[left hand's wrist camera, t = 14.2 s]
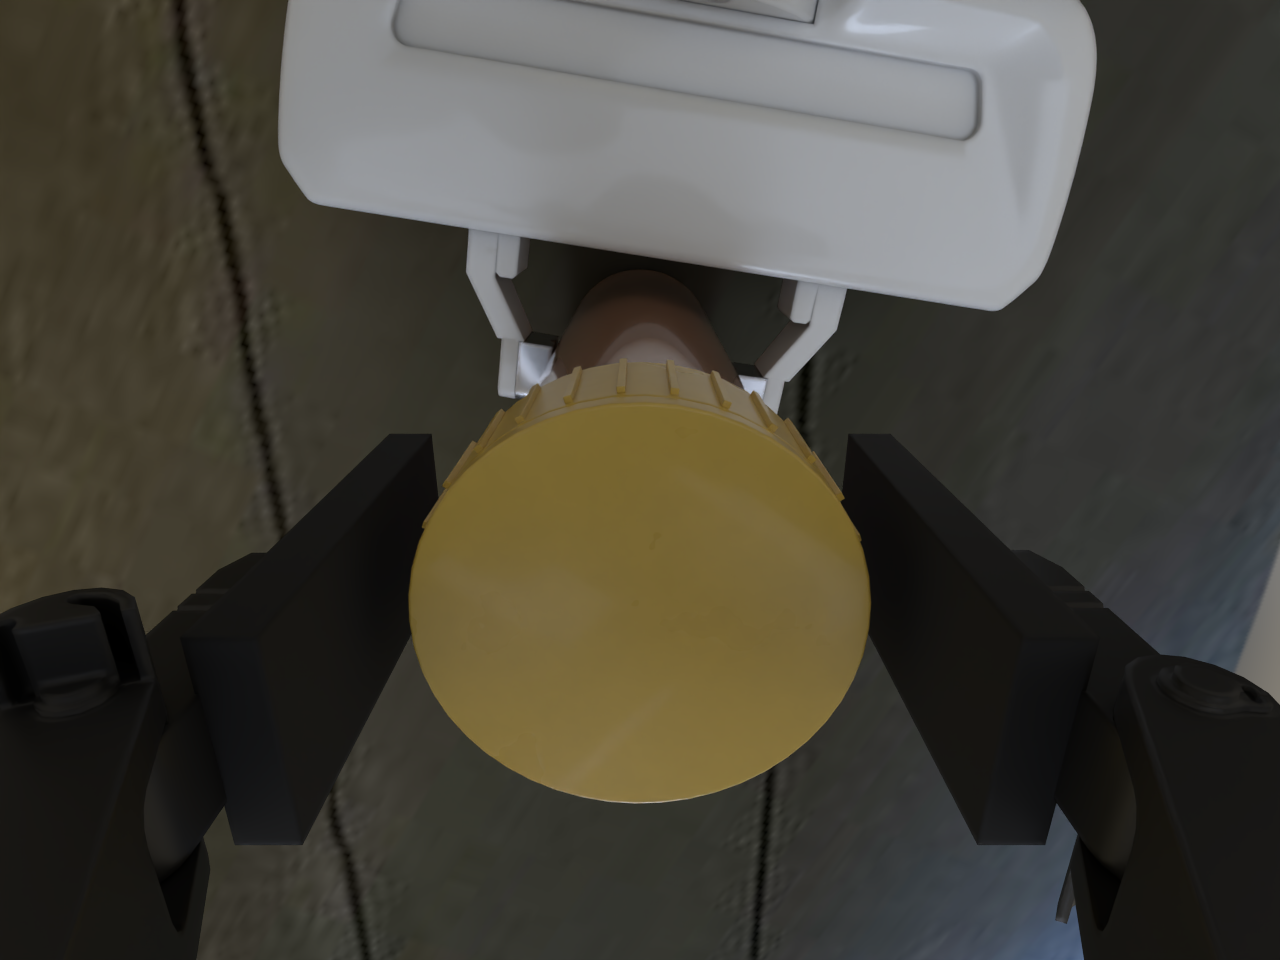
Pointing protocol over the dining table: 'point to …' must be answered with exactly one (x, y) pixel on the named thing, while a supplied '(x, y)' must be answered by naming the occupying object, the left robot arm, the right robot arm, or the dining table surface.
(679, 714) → the lid
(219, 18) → the dining table surface
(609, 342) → the jar
